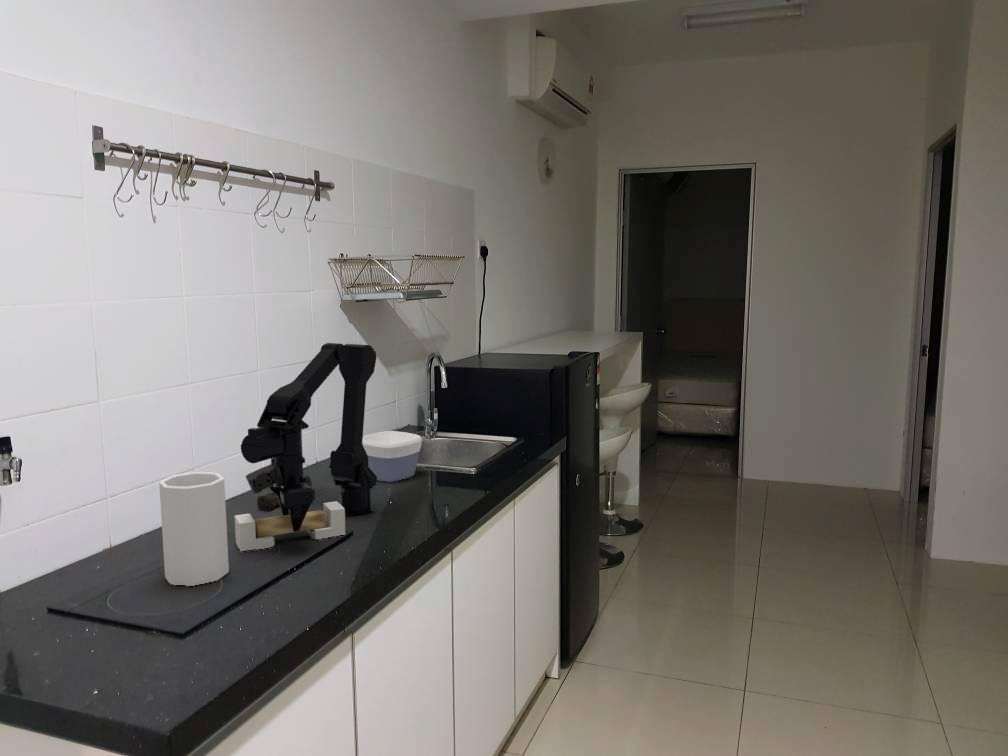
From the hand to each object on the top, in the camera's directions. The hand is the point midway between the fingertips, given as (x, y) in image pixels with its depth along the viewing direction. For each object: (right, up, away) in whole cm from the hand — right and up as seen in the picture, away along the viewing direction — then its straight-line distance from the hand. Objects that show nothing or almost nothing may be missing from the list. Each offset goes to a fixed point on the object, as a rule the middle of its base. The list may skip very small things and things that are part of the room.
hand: (291, 524), depth 163 cm
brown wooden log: (-9, 0, +29) cm, 30 cm away
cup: (-12, -6, -19) cm, 23 cm away
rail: (0, -3, 0) cm, 3 cm away
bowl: (+14, +4, +51) cm, 53 cm away
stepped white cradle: (0, -3, 0) cm, 3 cm away
